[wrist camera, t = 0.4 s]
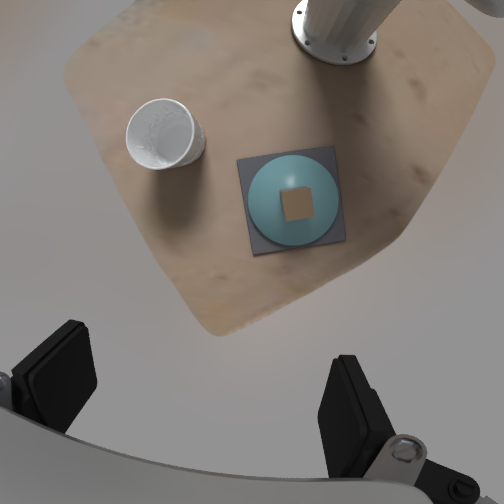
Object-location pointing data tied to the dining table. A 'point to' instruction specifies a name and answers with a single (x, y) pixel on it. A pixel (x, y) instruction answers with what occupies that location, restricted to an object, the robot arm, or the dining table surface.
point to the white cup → (164, 135)
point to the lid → (293, 200)
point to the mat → (251, 168)
